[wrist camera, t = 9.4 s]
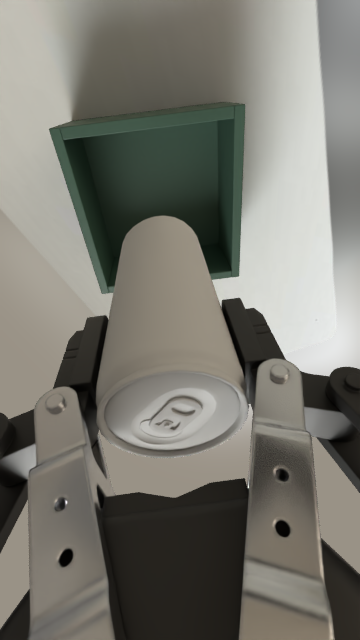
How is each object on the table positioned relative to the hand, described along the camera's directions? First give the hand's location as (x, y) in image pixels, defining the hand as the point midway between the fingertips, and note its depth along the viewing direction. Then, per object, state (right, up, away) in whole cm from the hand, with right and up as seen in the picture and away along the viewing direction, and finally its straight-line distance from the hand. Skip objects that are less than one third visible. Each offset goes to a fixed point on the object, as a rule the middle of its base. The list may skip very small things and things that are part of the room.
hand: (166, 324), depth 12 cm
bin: (-2, +14, +19) cm, 24 cm away
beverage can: (-1, +5, +6) cm, 8 cm away
